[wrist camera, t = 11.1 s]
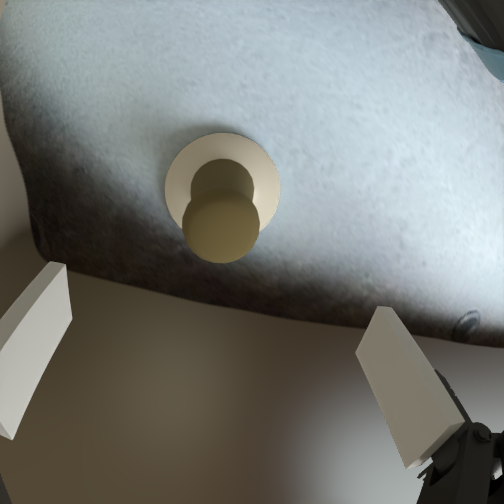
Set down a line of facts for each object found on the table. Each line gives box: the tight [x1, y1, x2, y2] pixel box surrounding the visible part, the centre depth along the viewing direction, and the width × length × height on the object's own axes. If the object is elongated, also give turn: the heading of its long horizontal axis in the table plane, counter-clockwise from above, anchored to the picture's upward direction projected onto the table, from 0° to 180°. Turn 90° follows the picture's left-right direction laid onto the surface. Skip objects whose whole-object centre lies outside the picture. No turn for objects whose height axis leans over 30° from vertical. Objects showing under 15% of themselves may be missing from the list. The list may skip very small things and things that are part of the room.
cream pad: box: [165, 132, 280, 232], centre depth 30 cm, size 11×11×2 cm
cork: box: [182, 159, 260, 263], centre depth 25 cm, size 6×6×11 cm
